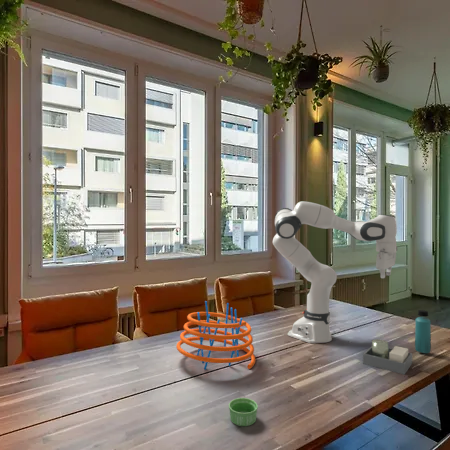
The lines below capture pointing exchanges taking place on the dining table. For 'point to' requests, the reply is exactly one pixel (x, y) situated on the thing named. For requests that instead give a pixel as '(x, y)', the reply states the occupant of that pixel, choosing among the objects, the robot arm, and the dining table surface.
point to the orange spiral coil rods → (217, 337)
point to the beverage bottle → (422, 333)
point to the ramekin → (243, 411)
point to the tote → (387, 362)
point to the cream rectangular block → (398, 354)
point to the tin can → (380, 348)
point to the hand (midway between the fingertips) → (385, 276)
